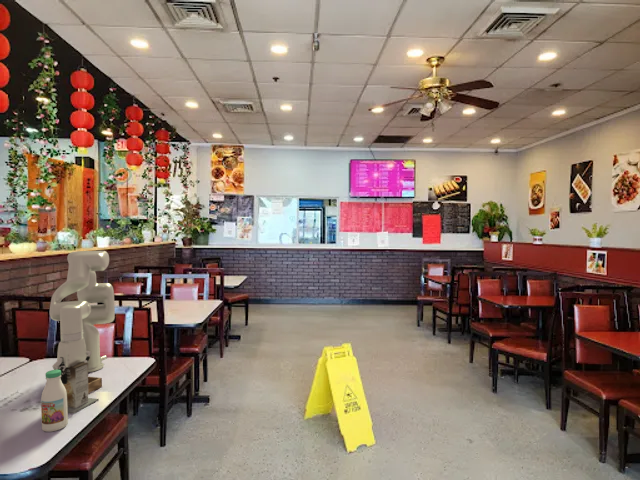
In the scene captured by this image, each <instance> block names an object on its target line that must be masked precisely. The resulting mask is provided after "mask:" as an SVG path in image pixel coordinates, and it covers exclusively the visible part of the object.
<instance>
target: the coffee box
mask: <svg viewBox="0 0 640 480" xmlns="http://www.w3.org/2000/svg"><path fill="white" fill-rule="evenodd" d="M64 366H65V365H64ZM59 368H60V367H59ZM63 369H64V368H63ZM63 369H62V371H63ZM65 374H67V384H63V385H64V387H65V389H66V393H67V407H72V408H77V407H79V406H81V405H83V404H85V403H87V402H88V401H89V400H88V398H89V394H88V377H89V372H88V363H85V362H81V363H78V364H76V365H73V366H71V367H69V368H68V369H67V371H66V373H65Z"/></svg>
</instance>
